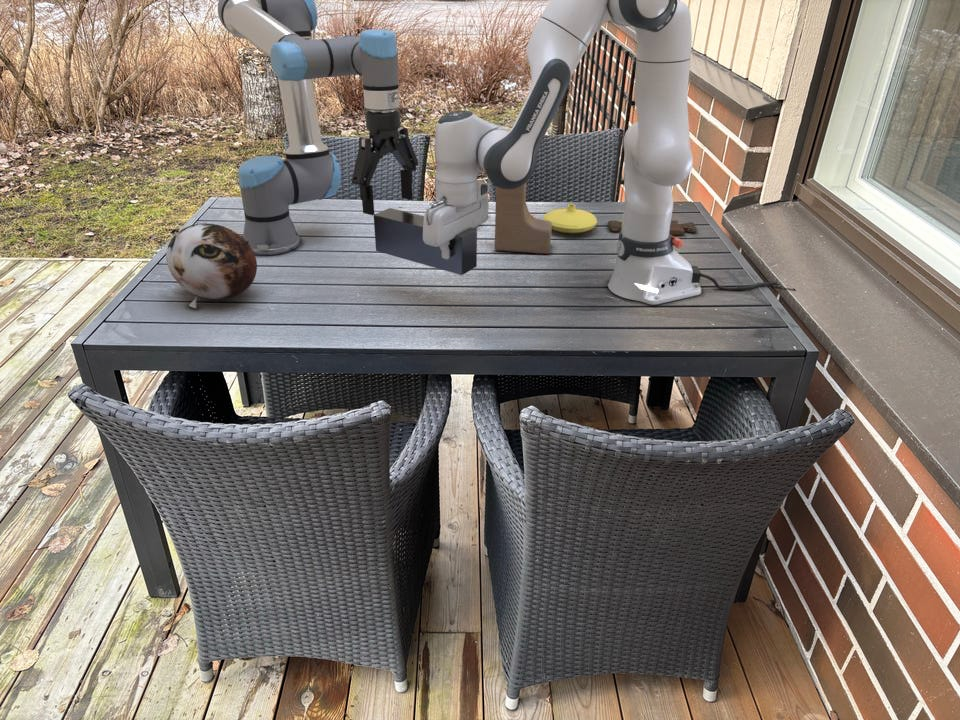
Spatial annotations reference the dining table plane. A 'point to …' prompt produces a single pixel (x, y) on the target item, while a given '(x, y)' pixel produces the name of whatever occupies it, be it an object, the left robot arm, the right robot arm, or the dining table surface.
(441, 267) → the bar
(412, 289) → the dining table surface
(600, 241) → the dining table surface
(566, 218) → the yellow lid
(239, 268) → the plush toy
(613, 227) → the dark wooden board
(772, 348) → the dining table surface
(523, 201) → the decorative block
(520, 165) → the right robot arm
